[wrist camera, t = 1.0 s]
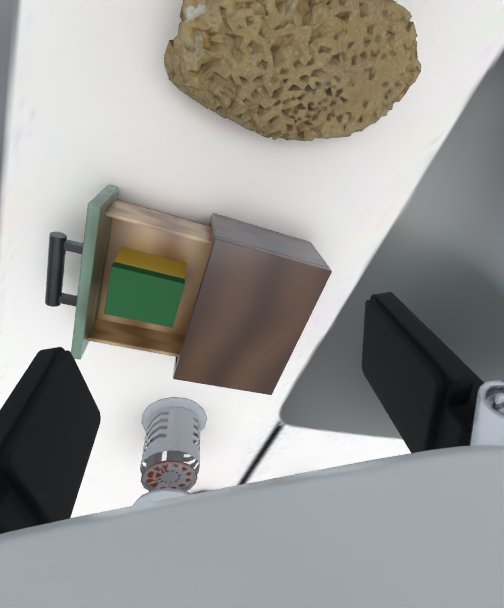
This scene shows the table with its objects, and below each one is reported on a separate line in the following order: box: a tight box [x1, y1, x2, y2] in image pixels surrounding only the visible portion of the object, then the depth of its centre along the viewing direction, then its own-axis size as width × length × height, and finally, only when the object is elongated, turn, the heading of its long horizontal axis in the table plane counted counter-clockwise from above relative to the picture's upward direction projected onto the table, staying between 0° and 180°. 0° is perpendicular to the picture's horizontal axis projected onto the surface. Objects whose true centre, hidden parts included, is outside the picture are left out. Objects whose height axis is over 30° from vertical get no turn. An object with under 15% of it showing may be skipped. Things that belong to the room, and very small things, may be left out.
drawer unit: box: [173, 213, 332, 395], centre depth 40 cm, size 12×17×8 cm
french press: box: [133, 397, 207, 506], centre depth 43 cm, size 10×12×25 cm
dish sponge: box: [104, 247, 187, 328], centre depth 37 cm, size 6×7×5 cm
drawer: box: [45, 185, 213, 359], centre depth 37 cm, size 16×17×7 cm
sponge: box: [164, 0, 421, 141], centre depth 29 cm, size 13×8×20 cm
